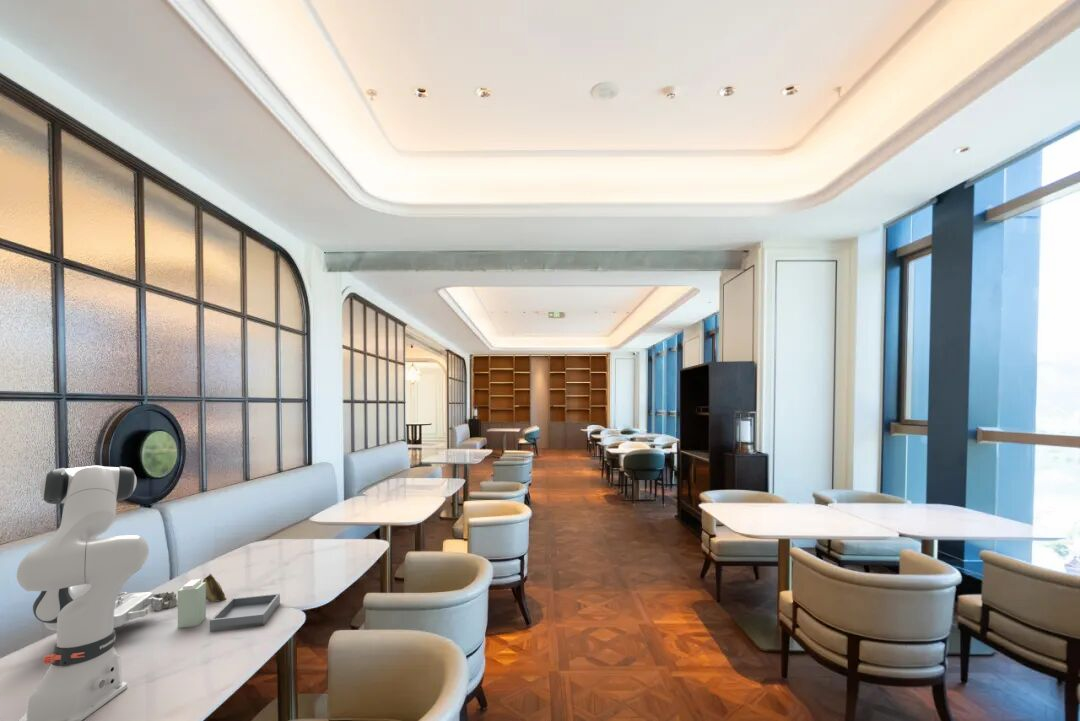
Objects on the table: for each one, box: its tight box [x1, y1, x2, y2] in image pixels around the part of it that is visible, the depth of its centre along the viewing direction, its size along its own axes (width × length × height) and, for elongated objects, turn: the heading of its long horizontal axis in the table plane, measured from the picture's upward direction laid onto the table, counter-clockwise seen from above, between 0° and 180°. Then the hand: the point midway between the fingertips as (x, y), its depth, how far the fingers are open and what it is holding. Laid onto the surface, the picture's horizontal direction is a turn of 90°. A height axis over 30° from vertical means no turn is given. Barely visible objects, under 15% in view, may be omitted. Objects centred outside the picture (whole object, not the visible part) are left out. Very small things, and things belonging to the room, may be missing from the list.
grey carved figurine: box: [151, 591, 178, 611], centre depth 190 cm, size 11×8×4 cm
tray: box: [209, 593, 281, 632], centre depth 177 cm, size 18×16×4 cm
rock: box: [201, 573, 227, 602], centre depth 196 cm, size 11×9×10 cm
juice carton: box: [177, 578, 207, 629], centre depth 174 cm, size 6×6×13 cm
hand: (154, 606), depth 172 cm, fingers open, 8 cm apart
